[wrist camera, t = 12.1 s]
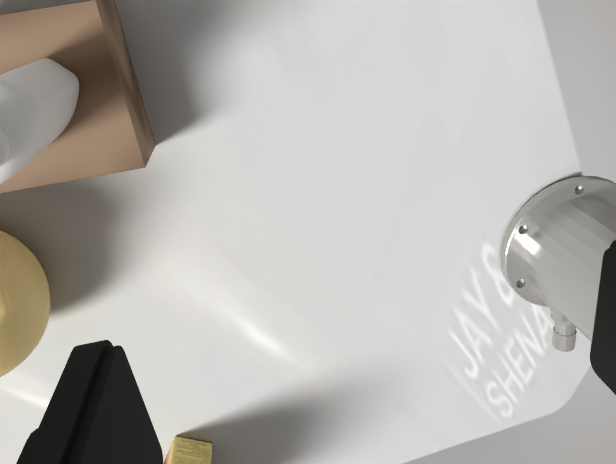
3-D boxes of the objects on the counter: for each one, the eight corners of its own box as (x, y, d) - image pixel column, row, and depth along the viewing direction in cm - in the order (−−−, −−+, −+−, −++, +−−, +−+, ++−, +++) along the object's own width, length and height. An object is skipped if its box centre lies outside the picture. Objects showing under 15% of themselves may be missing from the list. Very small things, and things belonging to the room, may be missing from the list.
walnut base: (155, 146, 38) (145, 167, 33) (16, 170, 37) (-13, 195, 33) (113, -2, 33) (95, -1, 29) (-45, 23, 33) (-88, 28, 28)
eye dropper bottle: (-23, 91, 30) (-162, 149, 19) (62, 49, 30) (-33, 84, 19) (25, 156, 32) (-77, 241, 21) (105, 117, 32) (41, 184, 21)
